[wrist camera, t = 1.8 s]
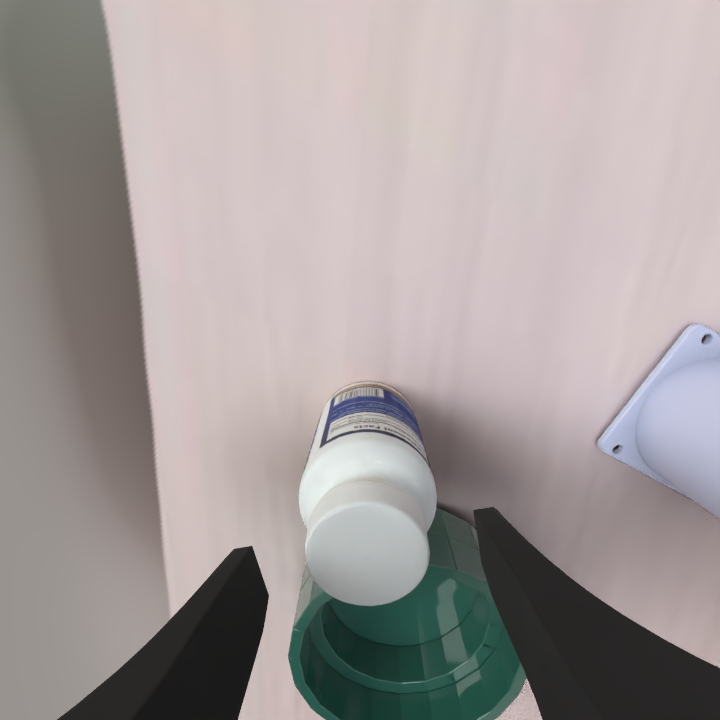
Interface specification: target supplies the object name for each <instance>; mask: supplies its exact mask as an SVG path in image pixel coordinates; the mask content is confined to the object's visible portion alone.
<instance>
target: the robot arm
mask: <svg viewBox="0 0 720 720" xmlns="http://www.w3.org/2000/svg"><path fill="white" fill-rule="evenodd" d="M705 335H706V338H705V340H704V341H703V342H702V338H703V336H705ZM617 445H618V448H617V449H616V450H613V448H614V447H615V446H617ZM597 446H598V448H599V449H600V450H602V451H603V452H604V453H606V454H608V455H610V456H611V457H613V458H615V459H617V460H619V461H621V462H623V463H625V464H626V465H628V466H630V467H632V468H634V469H636V470H638V471H639V472H641V473H643V474H645V475H647V476H649V477H651V478H652V479H654V480H656V481H658V482H660V483H662V484H664V485H665V486H667V487H669V488H671V489H673V490H675V491H677V492H678V493H680V494H682V495H684V496H686V497H688V498H690V499H692V500H693V501H695V502H696V503H698V504H699V505H700V506H702V507H703V508H704V509H706V510H707V511H708V512H710V513H711V514H712V515H714V516H715V517H716V518H718V519H719V520H720V334H718V333H717V332H715V331H713V330H712V329H710V328H708V327H707V326H705V325H701V324H692V325H690V326H688V327H687V328H686V329H685V330H684V332H683V333H682V334H681V335H680V337H679V338H678V339H677V341H676V342H675V343H674V344H673V346H672V347H671V348H670V349H669V351H668V352H667V353H666V354H665V356H664V357H663V358H662V360H661V361H660V362H659V363H658V365H657V366H656V367H655V368H654V370H653V371H652V372H651V373H650V375H649V376H648V377H647V379H646V380H645V381H644V382H643V384H642V385H641V386H640V387H639V389H638V390H637V391H636V393H635V394H634V395H633V396H632V398H631V399H630V400H629V401H628V403H627V404H626V405H625V406H624V408H623V409H622V410H621V412H620V413H619V414H618V415H617V417H616V418H615V419H614V420H613V422H612V423H611V424H610V425H609V427H608V428H607V429H606V431H605V432H604V433H603V434H602V436H601V437H600V438H599V440H598V442H597ZM473 511H474V517H475V524H476V531H477V537H478V544H479V551H480V558H481V564H482V567H483V570H484V573H485V576H486V580H487V583H488V586H489V589H490V592H491V595H492V598H493V600H494V603H495V605H496V607H497V610H498V612H499V614H500V617H501V619H502V621H503V624H504V626H505V628H506V630H507V633H508V635H509V637H510V640H511V642H512V644H513V647H514V649H515V651H516V653H517V656H518V658H519V660H520V663H521V665H522V667H523V669H524V672H525V674H526V676H527V679H528V681H529V684H530V686H531V689H532V691H533V694H534V696H535V699H536V702H537V704H538V707H539V710H540V713H541V716H542V719H543V720H720V668H718V667H716V666H714V665H712V664H710V663H708V662H706V661H704V660H702V659H700V658H698V657H696V656H694V655H692V654H690V653H688V652H687V651H685V650H683V649H681V648H679V647H677V646H675V645H673V644H672V643H670V642H668V641H666V640H664V639H662V638H661V637H659V636H657V635H656V634H654V633H652V632H651V631H649V630H647V629H646V628H644V627H642V626H641V625H639V624H637V623H636V622H634V621H632V620H631V619H629V618H627V617H626V616H624V615H622V614H621V613H619V612H618V611H616V610H615V609H613V608H612V607H610V606H609V605H607V604H606V603H604V602H603V601H601V600H600V599H599V598H597V597H596V596H594V595H593V594H592V593H590V592H589V591H587V590H586V589H585V588H583V587H582V586H581V585H579V584H578V583H577V582H575V581H574V580H573V579H571V578H570V577H569V576H568V575H566V574H565V573H564V572H563V571H562V570H560V569H559V568H558V567H557V566H555V565H554V564H553V563H552V562H551V561H549V560H548V559H547V558H546V557H545V556H544V555H543V554H541V553H540V552H539V551H538V550H537V549H536V548H535V547H534V546H533V545H532V544H530V543H529V542H528V541H527V540H526V539H525V538H524V537H523V536H522V535H521V534H520V533H519V532H518V531H517V530H516V529H515V528H514V527H513V526H512V525H511V524H510V523H509V522H508V521H507V520H506V519H505V518H504V517H503V516H502V515H501V514H500V512H499V511H498V510H497V509H495V508H494V507H490V508H484V509H478V510H473ZM268 598H269V595H268V592H267V589H266V586H265V583H264V580H263V577H262V574H261V571H260V568H259V565H258V562H257V559H256V556H255V553H254V550H253V547H252V546H249V547H243V548H237V549H234V550H233V551H232V552H231V553H230V554H229V555H228V556H227V557H226V558H225V559H224V561H223V562H222V563H221V564H220V565H219V566H218V567H217V569H216V570H215V571H214V572H213V573H212V574H211V575H210V577H209V578H208V579H207V580H206V581H205V582H204V583H203V585H202V586H201V587H200V588H199V589H198V590H197V591H196V592H195V593H194V595H193V596H192V597H191V598H190V599H189V600H188V601H187V602H186V604H185V605H184V606H183V607H182V608H181V609H180V610H179V611H178V612H177V613H176V614H175V615H174V616H173V617H172V618H171V619H170V620H169V621H168V623H167V624H166V625H165V626H164V627H163V628H162V629H161V630H160V631H159V632H158V633H157V634H156V635H155V636H154V637H153V638H152V639H151V640H150V641H149V642H148V643H147V644H146V645H145V646H144V647H143V648H142V649H141V650H140V651H138V652H137V653H136V654H135V655H134V656H133V657H132V658H131V659H130V660H129V661H128V662H126V663H125V664H124V665H123V666H122V667H121V668H120V669H119V670H118V671H116V673H114V674H113V675H112V676H111V677H109V678H108V679H107V680H106V681H105V682H104V683H102V684H101V685H100V686H99V687H97V688H96V689H95V690H94V691H93V692H91V693H90V694H89V695H88V696H87V697H85V698H84V699H83V700H82V701H81V702H79V703H78V704H77V705H76V706H74V707H73V708H72V709H71V710H69V711H68V712H67V713H65V714H64V715H63V716H61V717H60V718H59V719H57V720H238V716H239V713H240V710H241V706H242V703H243V699H244V696H245V692H246V689H247V685H248V682H249V679H250V675H251V672H252V668H253V665H254V661H255V658H256V654H257V651H258V647H259V644H260V640H261V636H262V633H263V628H264V622H265V617H266V611H267V604H268Z"/></svg>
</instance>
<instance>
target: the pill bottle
mask: <svg viewBox="0 0 720 720" xmlns="http://www.w3.org/2000/svg"><path fill="white" fill-rule="evenodd" d="M436 505H437V494H436V487H435V481H434V476H433V473H432V470H431V467H430V464H429V461H428V458H427V455H426V451H425V447H424V444H423V440H422V437H421V434H420V430H419V427H418V424H417V420H416V418H415V415H414V412H413V410H412V408H411V406H410V404H409V403H408V401H407V400H406V399H405V398H404V396H402V395H401V394H400V393H399V392H398V391H396V390H395V389H393V388H391V387H389V386H387V385H384V384H381V383H377V382H359V383H354V384H351V385H348V386H346V387H344V388H342V389H340V390H339V391H337V392H336V393H335V394H334V395H333V396H332V397H331V398H330V399H329V401H328V402H327V404H326V405H325V407H324V409H323V411H322V413H321V416H320V419H319V422H318V425H317V429H316V432H315V436H314V439H313V442H312V446H311V449H310V452H309V456H308V459H307V462H306V465H305V468H304V472H303V475H302V478H301V483H300V488H299V508H300V513H301V517H302V519H303V522H304V524H305V526H306V528H307V530H308V532H307V537H306V544H305V562H306V566H307V568H308V571H309V573H310V575H311V577H312V578H313V580H314V581H315V582H316V583H317V585H318V586H319V587H320V588H321V589H323V590H324V591H325V592H326V593H328V594H329V595H330V596H332V597H334V598H336V599H338V600H340V601H343V602H346V603H350V604H354V605H360V606H376V605H383V604H387V603H391V602H393V601H396V600H398V599H400V598H402V597H404V596H405V595H406V594H408V593H410V592H411V591H412V590H413V589H414V588H415V587H416V586H417V585H418V584H419V583H420V581H421V580H422V579H423V577H424V575H425V573H426V570H427V567H428V564H429V555H430V550H429V543H428V537H427V531H428V530H429V528H430V526H431V524H432V522H433V519H434V516H435V512H436Z"/></svg>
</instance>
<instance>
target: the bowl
mask: <svg viewBox="0 0 720 720" xmlns="http://www.w3.org/2000/svg"><path fill="white" fill-rule="evenodd" d="M427 537H428V543H429V550H430V555H429V564H428V567H427V570H426V573H425V575H424V577H423V579H422V580H421V581H420V583H419V584H418V585H417V586H416V587H415V588H414V589H413V590H412V591H411V592H410V593H408V594H406V595H405V596H404V597H402V598H400V599H398V600H396V601H393V602H391V603H387V604H383V605H376V606H360V605H354V604H350V603H346V602H343V601H340V600H338V599H336V598H334V597H332V596H330V595H329V594H328V593H326V592H325V591H324V590H323V589H321V588H320V587H319V586H318V585H317V583H316V582H315V581H314V580H313V578H312V577H311V575H310V573H309V571H308V568H307V566H306V565H305V570H304V575H303V580H302V585H301V590H300V595H299V600H298V605H297V610H296V615H295V620H294V625H293V630H292V636H291V641H290V647H289V653H288V659H289V663H290V667H291V671H292V675H293V680H294V684H295V686H296V688H297V689H298V690H299V692H300V693H301V695H302V696H303V698H304V699H305V700H306V702H307V703H308V705H309V706H310V708H311V709H312V710H313V711H315V712H316V713H317V714H319V715H320V716H321V717H323V718H324V719H325V720H494V719H496V718H498V716H500V715H501V714H502V713H503V712H504V711H505V710H506V708H507V707H508V706H509V705H510V704H511V703H512V702H513V701H514V700H515V699H516V697H517V696H518V695H519V693H520V692H521V689H522V687H523V684H524V682H525V679H526V677H527V676H526V674H525V672H524V669H523V667H522V665H521V663H520V660H519V658H518V656H517V653H516V651H515V649H514V647H513V644H512V642H511V640H510V637H509V635H508V633H507V630H506V628H505V626H504V624H503V621H502V619H501V617H500V614H499V612H498V610H497V607H496V605H495V603H494V600H493V598H492V595H491V592H490V589H489V586H488V583H487V580H486V576H485V573H484V570H483V567H482V564H481V558H480V551H479V544H478V537H477V531H476V529H475V528H474V527H473V526H471V525H470V524H469V523H468V522H467V521H465V520H463V519H460V518H458V517H456V516H454V515H452V514H450V513H448V512H446V511H444V510H442V509H439V508H436V512H435V516H434V519H433V522H432V524H431V526H430V528H429V530H428V531H427Z"/></svg>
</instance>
